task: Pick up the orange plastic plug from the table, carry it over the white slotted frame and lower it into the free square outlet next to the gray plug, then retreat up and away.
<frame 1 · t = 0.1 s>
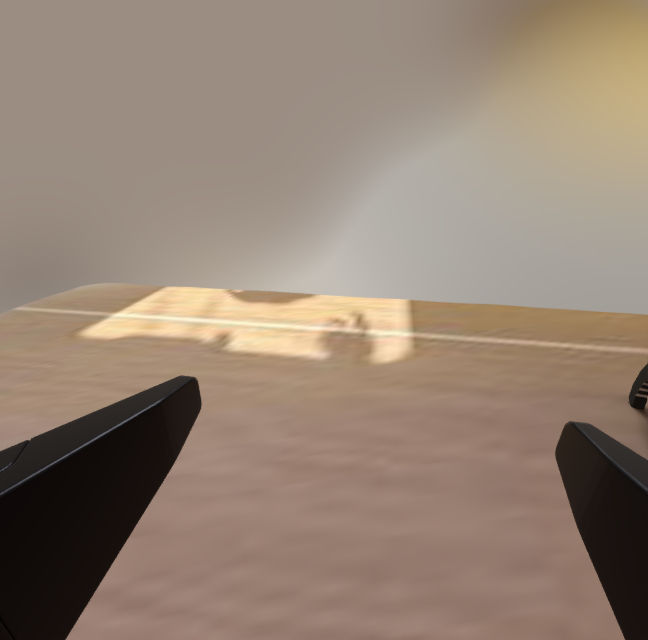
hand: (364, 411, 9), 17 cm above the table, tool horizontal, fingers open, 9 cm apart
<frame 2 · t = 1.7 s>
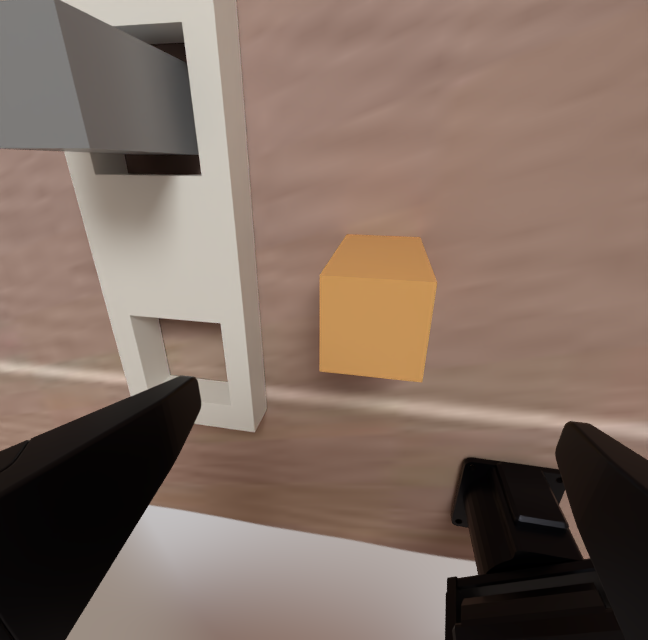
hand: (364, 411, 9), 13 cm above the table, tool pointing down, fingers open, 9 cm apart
gray plug: (165, 113, 18), resting in white slotted frame
white slotted frame: (186, 244, 21), on the table
orange plug: (380, 270, 20), on the table
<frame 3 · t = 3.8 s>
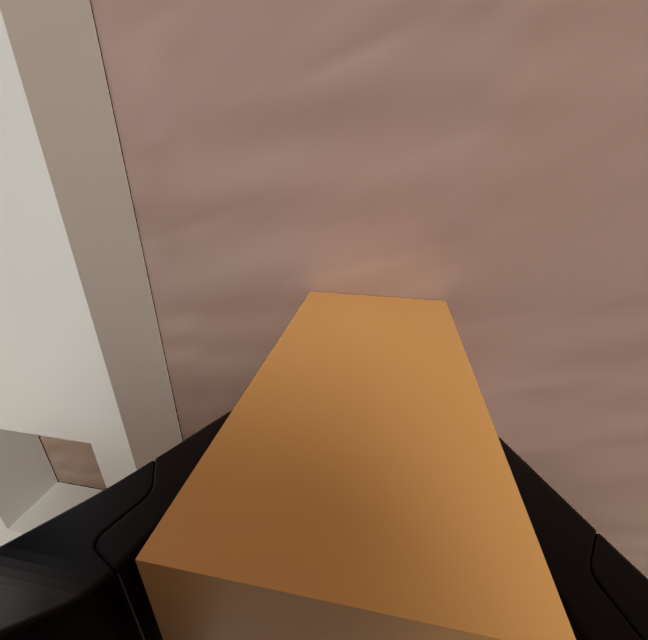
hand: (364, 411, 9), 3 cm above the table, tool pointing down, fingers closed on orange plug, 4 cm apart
white slotted frame: (43, 299, 13), on the table
orange plug: (371, 354, 11), on the table, touching gripper
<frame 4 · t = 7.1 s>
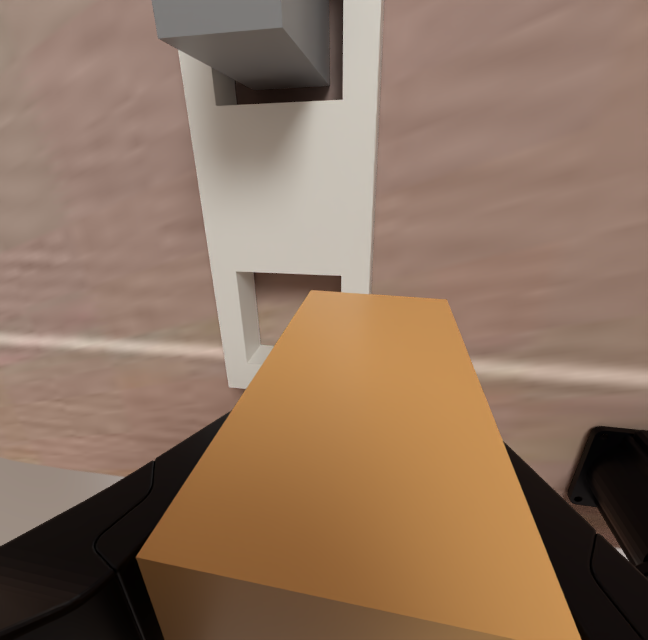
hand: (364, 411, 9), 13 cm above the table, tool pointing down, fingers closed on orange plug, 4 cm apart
gray plug: (288, 39, 17), resting in white slotted frame
white slotted frame: (295, 192, 19), on the table
orange plug: (372, 353, 11), point 10 cm above the table, touching gripper
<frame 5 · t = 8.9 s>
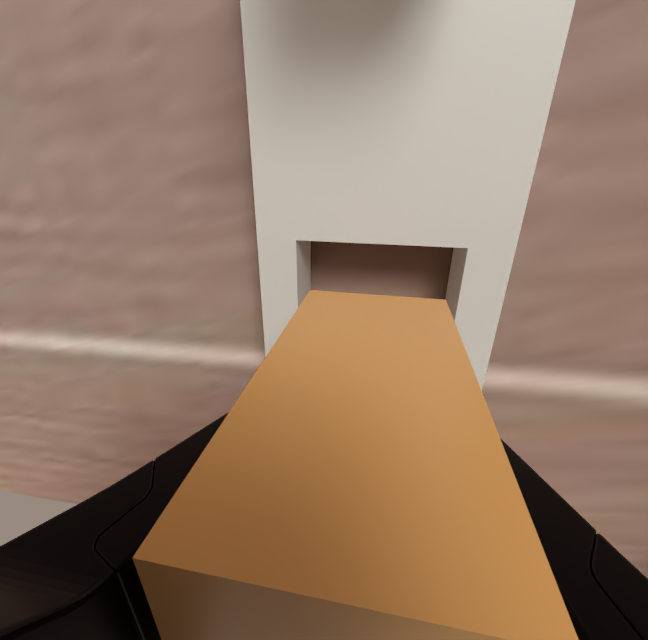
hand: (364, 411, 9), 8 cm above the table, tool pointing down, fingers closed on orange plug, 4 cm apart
white slotted frame: (389, 121, 13), on the table
orange plug: (371, 353, 11), point 5 cm above the table, touching gripper
when the fingers open (4 cm above the table, at t = 10.5 s): orange plug drops 1 cm, resting in white slotted frame.
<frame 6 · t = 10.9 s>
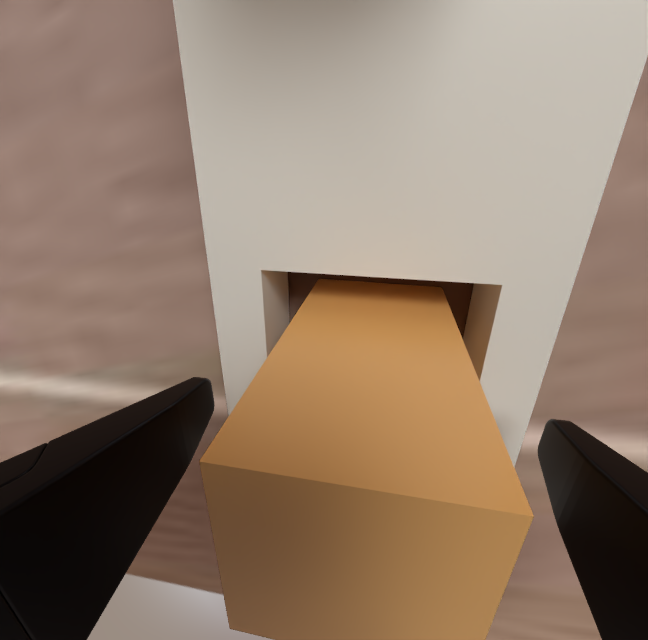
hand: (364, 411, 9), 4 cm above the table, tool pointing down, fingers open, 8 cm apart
white slotted frame: (389, 106, 9), on the table
orange plug: (374, 336, 12), resting in white slotted frame
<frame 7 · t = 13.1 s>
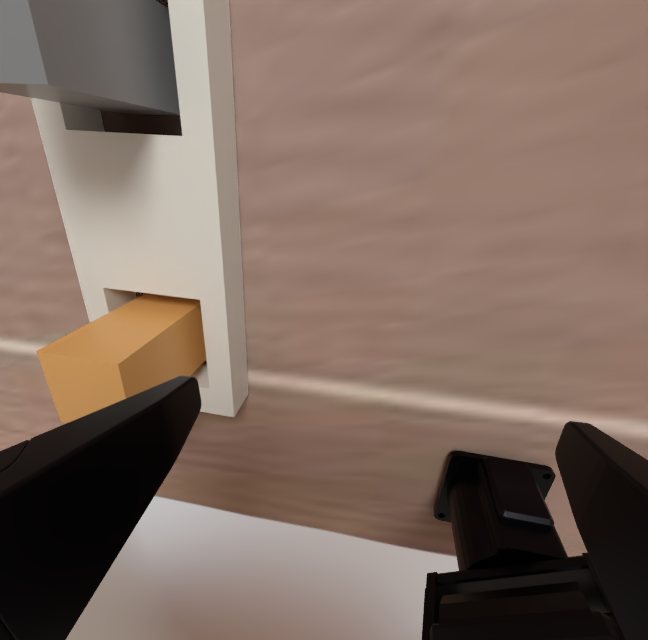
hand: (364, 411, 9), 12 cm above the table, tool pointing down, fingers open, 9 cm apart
gray plug: (146, 67, 17), resting in white slotted frame
white slotted frame: (166, 214, 20), on the table
orange plug: (182, 322, 23), resting in white slotted frame
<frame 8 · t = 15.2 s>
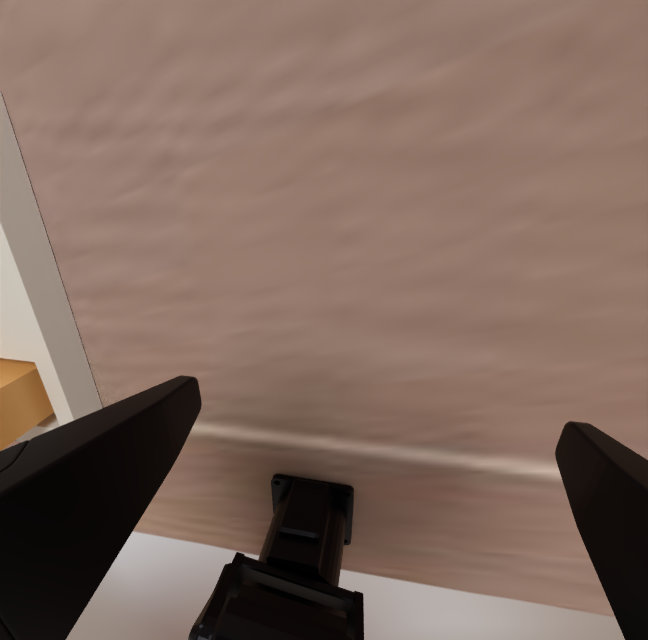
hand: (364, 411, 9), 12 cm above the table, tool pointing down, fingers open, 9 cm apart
white slotted frame: (12, 292, 25), on the table
orange plug: (45, 373, 28), resting in white slotted frame
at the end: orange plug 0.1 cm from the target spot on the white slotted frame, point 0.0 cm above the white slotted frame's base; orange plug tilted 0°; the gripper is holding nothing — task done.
